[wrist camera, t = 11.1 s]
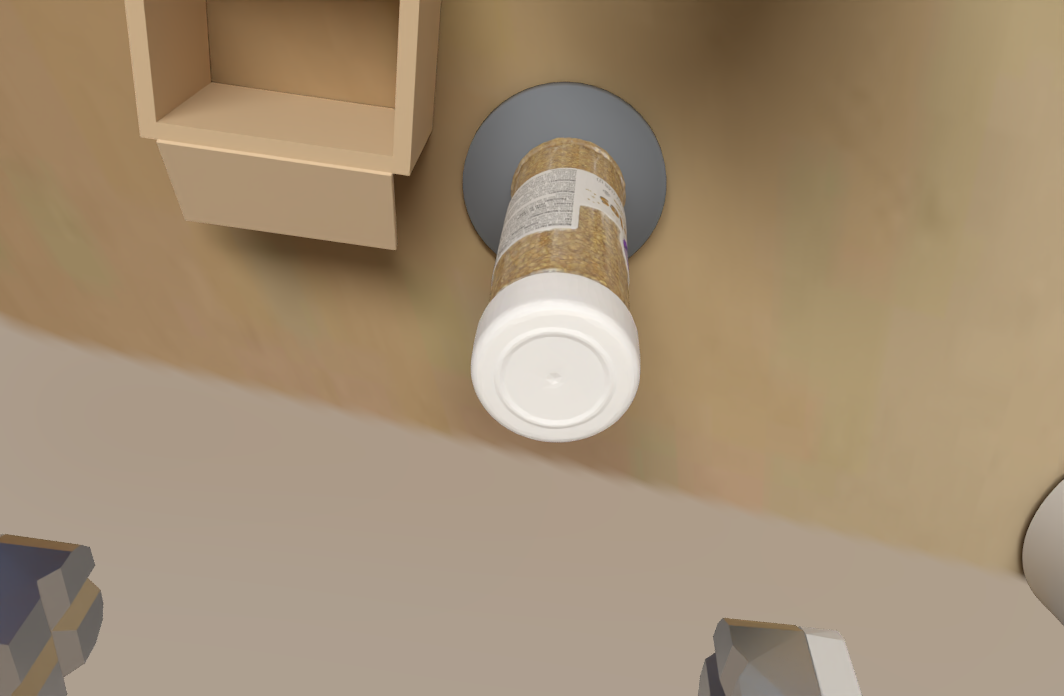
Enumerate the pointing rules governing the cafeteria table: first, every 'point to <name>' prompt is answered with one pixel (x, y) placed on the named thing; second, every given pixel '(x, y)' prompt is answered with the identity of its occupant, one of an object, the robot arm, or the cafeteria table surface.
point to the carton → (279, 132)
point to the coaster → (563, 116)
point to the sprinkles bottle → (560, 300)
